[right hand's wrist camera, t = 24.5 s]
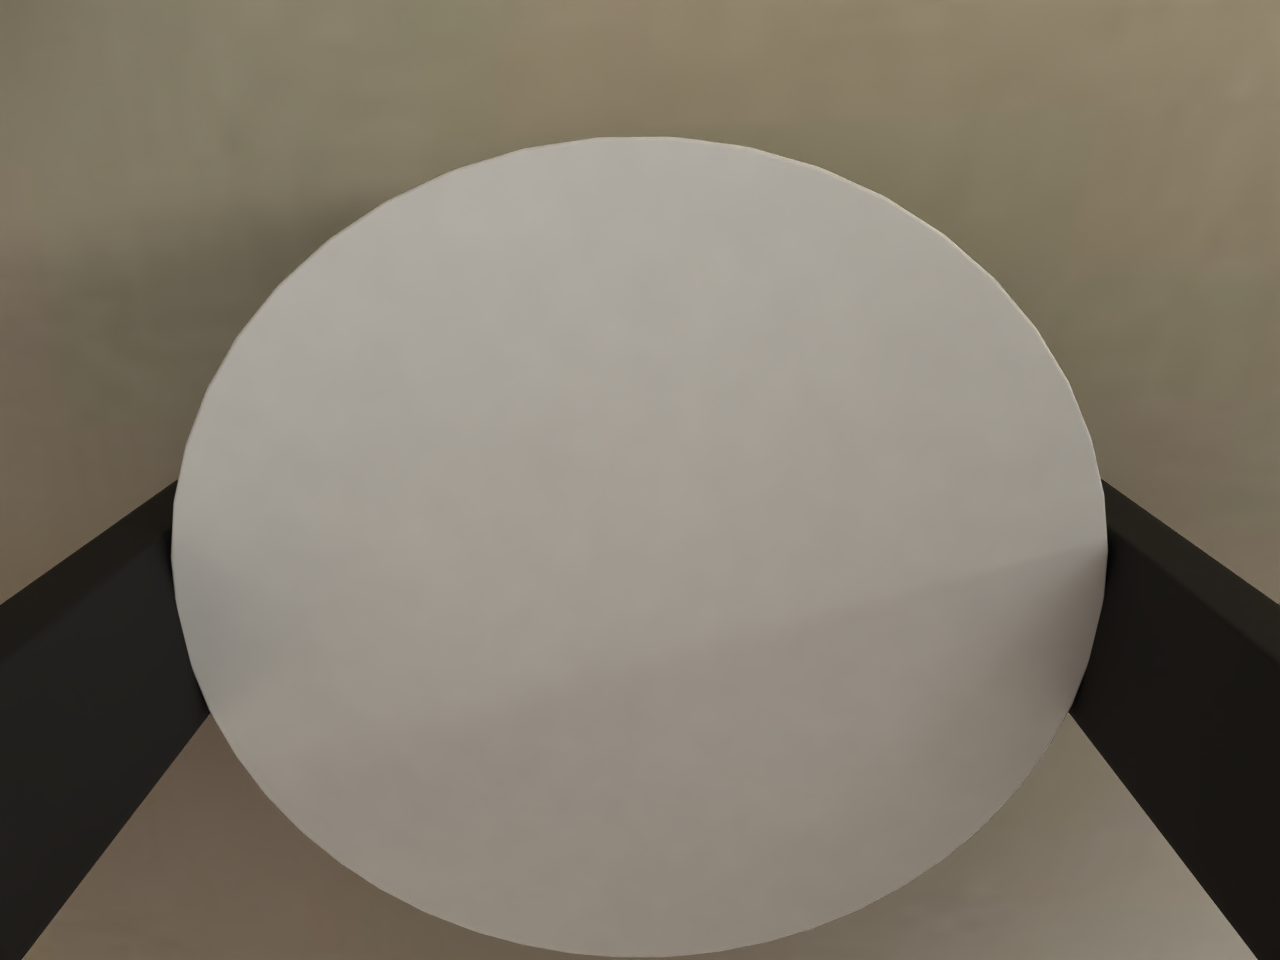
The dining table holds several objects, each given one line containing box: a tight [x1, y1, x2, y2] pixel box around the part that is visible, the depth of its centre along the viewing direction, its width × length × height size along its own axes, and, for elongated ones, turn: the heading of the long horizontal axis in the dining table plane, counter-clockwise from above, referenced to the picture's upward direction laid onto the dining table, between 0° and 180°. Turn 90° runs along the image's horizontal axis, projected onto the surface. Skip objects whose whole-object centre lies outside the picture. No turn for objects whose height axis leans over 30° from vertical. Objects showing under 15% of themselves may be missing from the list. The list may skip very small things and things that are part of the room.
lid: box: [171, 136, 1108, 957], centre depth 11 cm, size 12×12×2 cm
